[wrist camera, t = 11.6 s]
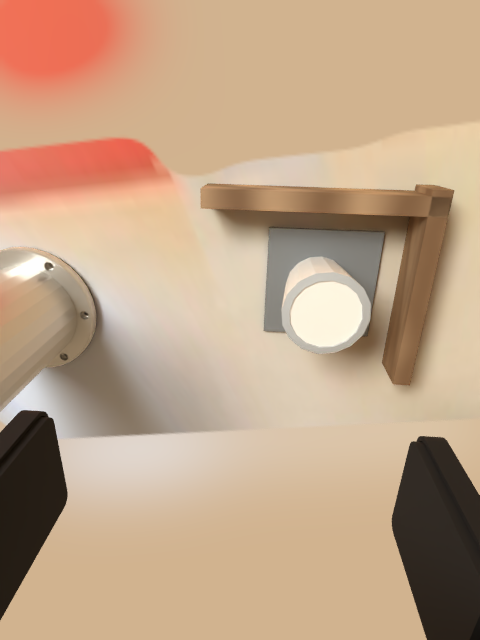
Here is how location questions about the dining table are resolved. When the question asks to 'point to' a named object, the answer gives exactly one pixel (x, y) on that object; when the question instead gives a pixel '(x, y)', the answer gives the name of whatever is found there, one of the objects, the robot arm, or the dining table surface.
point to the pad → (299, 244)
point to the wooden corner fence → (421, 205)
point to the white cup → (324, 306)
